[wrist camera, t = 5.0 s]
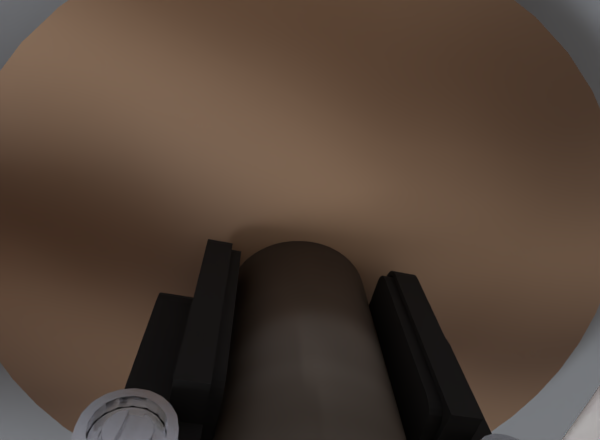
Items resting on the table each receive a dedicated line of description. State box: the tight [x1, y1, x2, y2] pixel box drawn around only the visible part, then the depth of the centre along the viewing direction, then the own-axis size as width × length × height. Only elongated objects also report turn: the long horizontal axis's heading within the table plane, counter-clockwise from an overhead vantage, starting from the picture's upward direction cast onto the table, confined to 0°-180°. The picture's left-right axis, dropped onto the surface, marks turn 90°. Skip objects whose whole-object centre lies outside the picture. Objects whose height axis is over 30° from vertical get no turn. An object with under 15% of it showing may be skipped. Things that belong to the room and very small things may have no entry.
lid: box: [0, 0, 600, 440], centre depth 9 cm, size 15×15×6 cm
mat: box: [0, 0, 600, 440], centre depth 13 cm, size 20×20×1 cm
